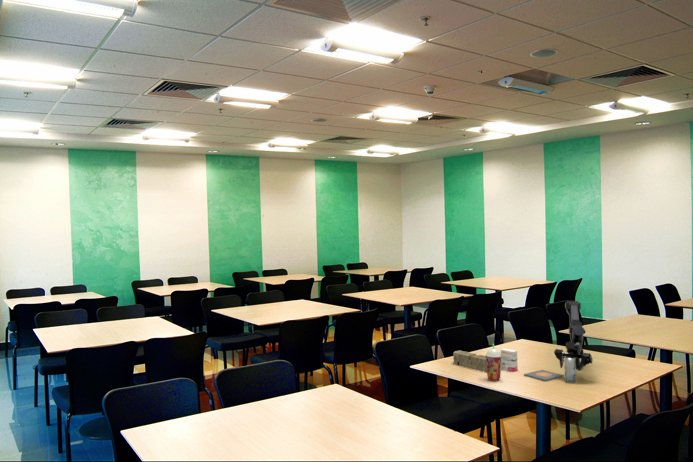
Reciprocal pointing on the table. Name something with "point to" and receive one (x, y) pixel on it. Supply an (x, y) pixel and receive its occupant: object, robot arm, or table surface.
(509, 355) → the ink box
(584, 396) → the table surface
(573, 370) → the steel sleeve
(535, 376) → the rubber mat
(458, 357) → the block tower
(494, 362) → the smoothie
